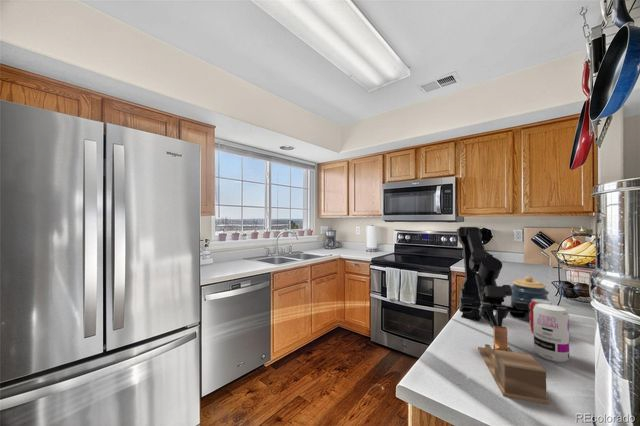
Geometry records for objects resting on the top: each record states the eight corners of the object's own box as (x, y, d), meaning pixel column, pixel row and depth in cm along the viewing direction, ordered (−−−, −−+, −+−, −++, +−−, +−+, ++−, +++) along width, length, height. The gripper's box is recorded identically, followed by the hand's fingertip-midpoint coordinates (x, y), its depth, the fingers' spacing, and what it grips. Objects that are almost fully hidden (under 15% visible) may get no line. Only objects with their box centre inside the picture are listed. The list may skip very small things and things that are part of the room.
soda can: (560, 339, 91) (559, 304, 91) (537, 337, 92) (536, 303, 92) (546, 330, 97) (546, 298, 98) (525, 328, 99) (525, 297, 99)
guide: (477, 349, 84) (477, 326, 84) (510, 353, 81) (510, 330, 81) (503, 395, 62) (502, 365, 62) (549, 404, 59) (548, 372, 59)
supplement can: (562, 352, 82) (561, 304, 82) (574, 365, 74) (573, 313, 74) (530, 346, 85) (529, 301, 85) (539, 359, 78) (538, 309, 78)
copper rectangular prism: (493, 355, 78) (493, 325, 78) (506, 357, 76) (505, 327, 77) (510, 382, 65) (509, 346, 65) (525, 385, 64) (525, 348, 64)
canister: (531, 311, 117) (530, 272, 117) (558, 323, 104) (557, 279, 104) (503, 311, 117) (502, 272, 117) (527, 323, 104) (526, 279, 104)
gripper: (460, 272, 86) (467, 318, 75) (527, 276, 80) (546, 326, 69) (456, 290, 93) (462, 333, 82) (517, 295, 87) (533, 342, 76)
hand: (498, 334), depth 77 cm, fingers closed, pressing on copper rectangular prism
